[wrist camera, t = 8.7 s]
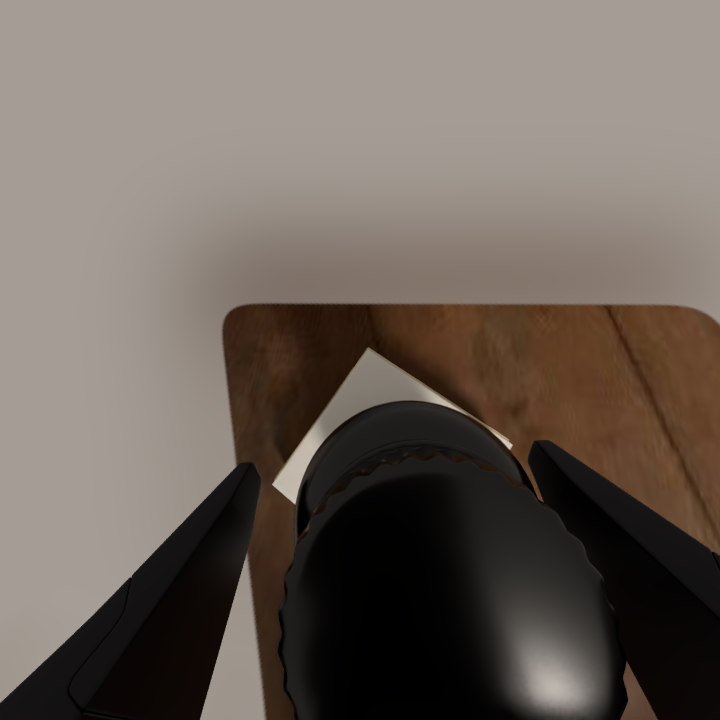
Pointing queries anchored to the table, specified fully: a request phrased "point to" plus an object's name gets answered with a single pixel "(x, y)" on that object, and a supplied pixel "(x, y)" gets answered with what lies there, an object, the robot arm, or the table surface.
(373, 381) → the top slab
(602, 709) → the supplement bottle
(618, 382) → the table surface
